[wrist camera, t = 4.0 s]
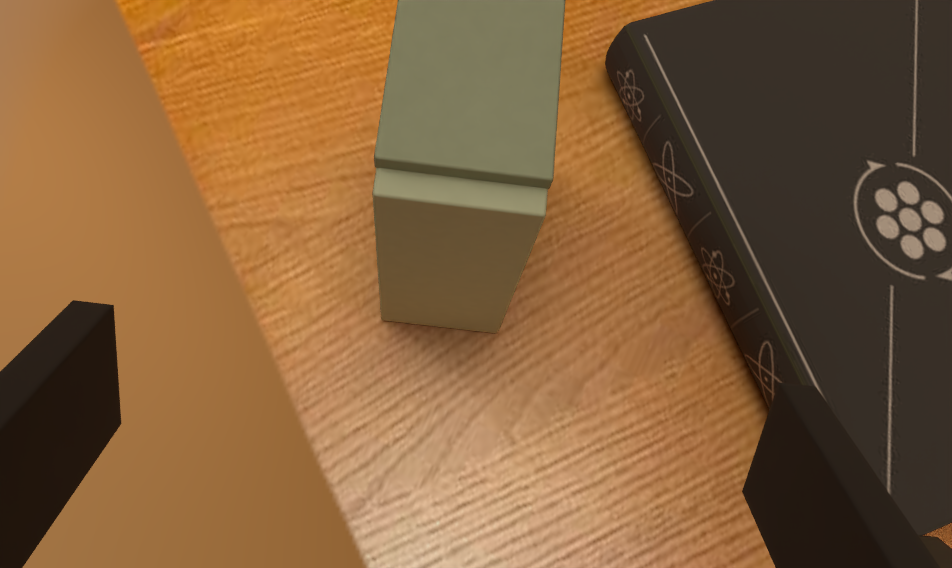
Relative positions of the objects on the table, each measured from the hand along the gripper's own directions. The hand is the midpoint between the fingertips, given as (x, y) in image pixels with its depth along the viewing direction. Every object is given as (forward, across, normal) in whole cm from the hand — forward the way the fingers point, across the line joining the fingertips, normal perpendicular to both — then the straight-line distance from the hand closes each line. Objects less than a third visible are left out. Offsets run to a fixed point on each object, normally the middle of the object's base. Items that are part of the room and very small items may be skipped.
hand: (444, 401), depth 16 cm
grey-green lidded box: (+17, 0, -3) cm, 17 cm away
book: (+18, +17, -2) cm, 25 cm away
